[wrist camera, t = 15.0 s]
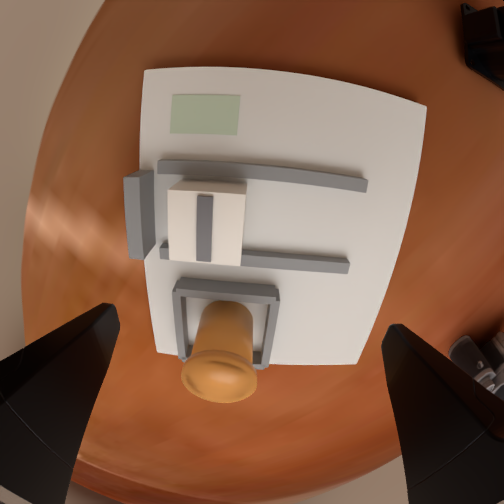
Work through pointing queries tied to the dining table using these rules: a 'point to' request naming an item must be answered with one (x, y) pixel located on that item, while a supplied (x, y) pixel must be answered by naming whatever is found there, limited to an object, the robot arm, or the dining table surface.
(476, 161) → the dining table surface
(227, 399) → the cap
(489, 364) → the camera
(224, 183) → the block
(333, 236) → the board
